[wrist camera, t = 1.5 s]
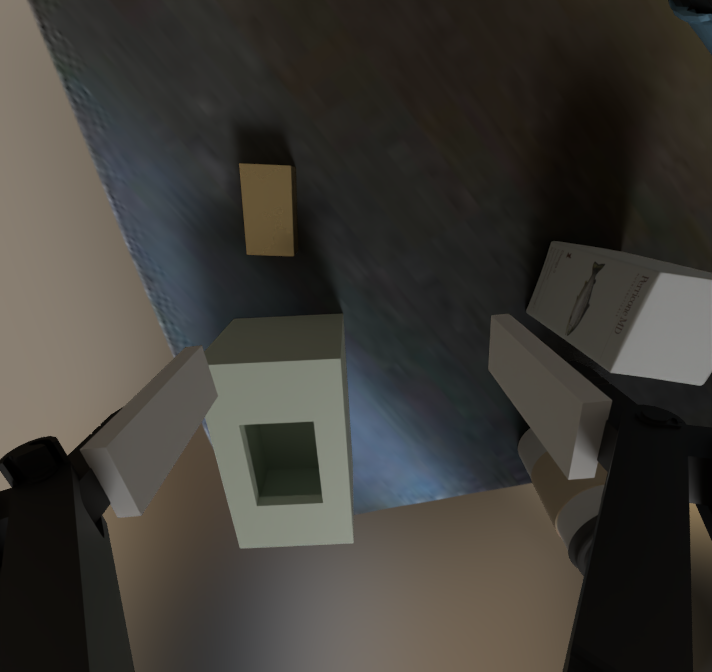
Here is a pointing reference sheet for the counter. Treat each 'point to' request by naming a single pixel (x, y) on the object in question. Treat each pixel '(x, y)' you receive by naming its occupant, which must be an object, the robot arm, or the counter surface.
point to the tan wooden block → (269, 209)
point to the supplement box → (628, 311)
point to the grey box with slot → (283, 429)
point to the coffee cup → (564, 498)
